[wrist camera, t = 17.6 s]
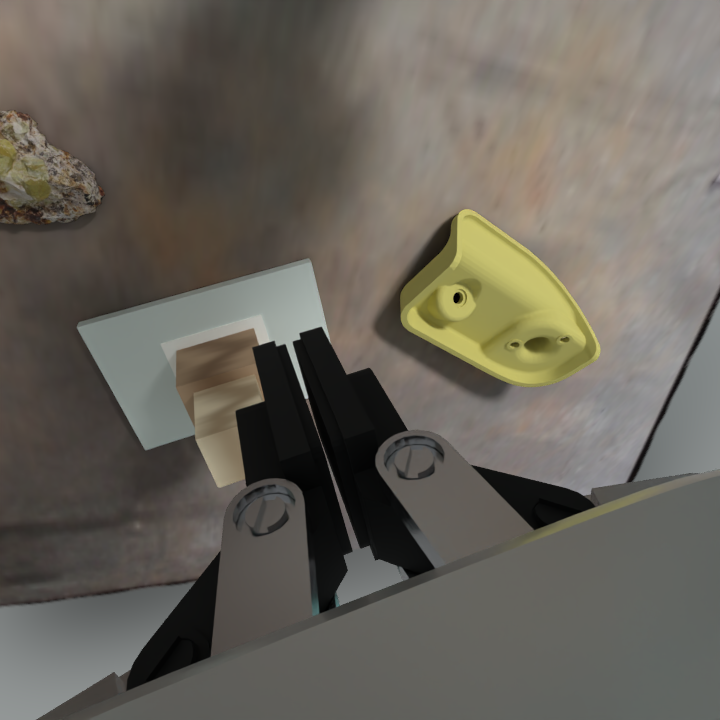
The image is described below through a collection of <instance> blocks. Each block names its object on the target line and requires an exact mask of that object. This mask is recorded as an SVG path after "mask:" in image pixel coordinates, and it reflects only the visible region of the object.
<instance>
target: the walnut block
mask: <svg viewBox="0 0 720 720" xmlns="http://www.w3.org/2000/svg"><path fill="white" fill-rule="evenodd" d="M258 345H259V342H258V339H257V336H256V333H255V330H254V328H252V329H248V330H245V331H241V332H238V333H235V334H231V335H228V336H225V337H221V338H218V339H214V340H211V341H208V342H204V343H201V344H197V345H194V346H191V347H187V348H184V349H181V350H177V351H176V389H177V391H178V393H179V395H180V398H181V400H182V402H183V404H184V406H185V408H186V410H187V412H188V415H189V417H190V419H191V421H192V423H193V425H194V427H195V416H194V393H195V392H199V391H202V390H205V389H208V388H211V387H215V386H218V385H221V384H224V383H228V382H231V381H234V380H237V379H240V378H244V377H247V376H250V375H253V374H255V377H256V380H257V383H258V385H259V388H260V391H261V394H262V397H263V399H264V395H263V391H262V387H261V383H260V379H259V374H258V370H257V366H256V362H255V358H254V354H253V350H252V347H255V346H258ZM264 401H265V399H264Z"/></svg>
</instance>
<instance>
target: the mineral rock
mask: <svg viewBox="0 0 720 720" xmlns="http://www.w3.org/2000/svg"><path fill="white" fill-rule="evenodd" d="M103 196H105V193H104V191H103V190H102V188H101V187H100V186H99V185H97V183H96V178H95V173H93V172H92V171H91V170H90V169H89V168H88V167H87V166H86V165H85V164H83V163H82V161H80V160H78V159H76V158H74V157H73V156H71V155H70V154H69V153H68V152H65V151H63V150H59V149H57V148H55V147H54V146H53V145H51V144H49V143H47V140H46V139H45V135H42V134H40V133H39V131H38V130H37V123H36V122H35V121H34V120H32V118H31V117H30V116H29V115H28V114H22V113H21V112H19V113H17V112H16V111H15V110H14V111H12V110H10V111H7V112H5V111H4V112H0V223H7V224H10V223H13V224H25V223H26V224H28V223H30V222H33V223H35V224H38V225H40V224H50V223H51V222H54V221H58V222H60V223H64V224H65V223H68V222H71V221H72V220H75V221H76V220H77V219H78V217H79V216H81V215H84V214H90V213H93V212H95V211H96V207H97V206H98V205H99V204H101V200H100V199H101V198H102V197H103Z"/></svg>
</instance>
